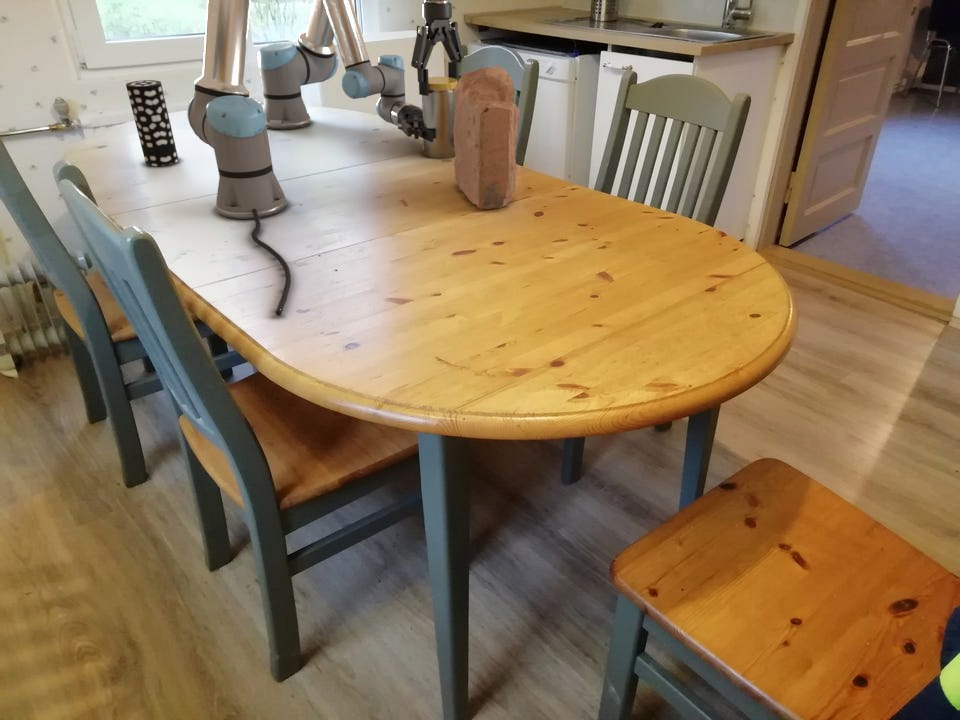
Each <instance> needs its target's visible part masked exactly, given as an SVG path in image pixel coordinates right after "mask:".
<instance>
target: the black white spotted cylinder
mask: <svg viewBox="0 0 960 720" xmlns="http://www.w3.org/2000/svg"><path fill="white" fill-rule="evenodd" d="M125 87H126V91H127V95H128V99H129V103H130V107H131V110H132V115H133V118H134V122H135V123H134V124H135V127H136V130H137V134H138V139H139V143H140V146H141V150H142V155H143V158H144V163H145V164H146V165H147V166H151V167H164V166H170V165H174V164H176V163H178V162H179V155H178V150H177V146H176V142H175V137H174V133H173V128H172V125H171V121H170V116H169V111H168V107H167V103H166V98H165V93H164V89H163V84H162V81H161V80H155V79H154V80H153V79H151V80H150V79H145V80H144V79H141V80H134V81H130V82H129V81H128V82H127V83H126V84H125Z"/></svg>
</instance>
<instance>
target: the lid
mask: <svg viewBox="0 0 960 720" xmlns="http://www.w3.org/2000/svg"><path fill="white" fill-rule="evenodd" d="M458 82H459V81H458ZM458 82H457V79H454V78H450V77H448V76H428V84H429V90H435V91H443V90H452V89H455V87H456V85H457V83H458Z"/></svg>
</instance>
